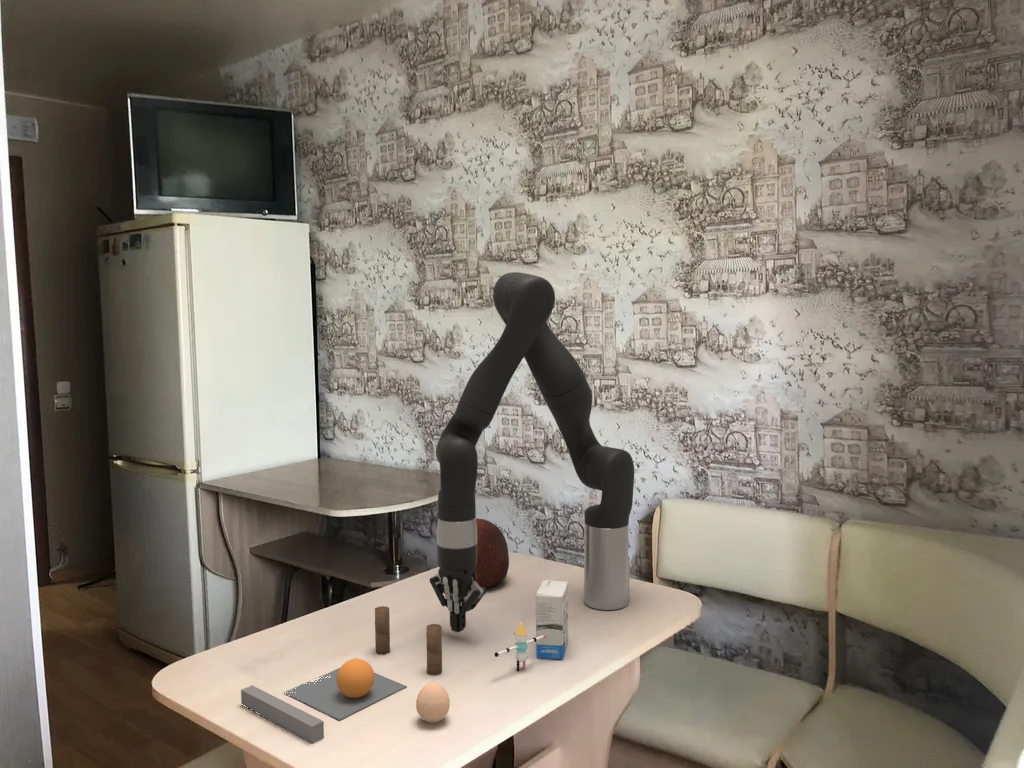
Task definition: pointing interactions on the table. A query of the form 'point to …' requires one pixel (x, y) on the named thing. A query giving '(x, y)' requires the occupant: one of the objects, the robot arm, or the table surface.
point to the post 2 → (434, 649)
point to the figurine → (490, 554)
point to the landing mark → (334, 702)
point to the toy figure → (520, 645)
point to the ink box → (552, 619)
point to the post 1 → (382, 630)
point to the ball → (355, 678)
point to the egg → (432, 702)
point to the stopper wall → (283, 714)
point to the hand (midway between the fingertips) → (457, 630)
